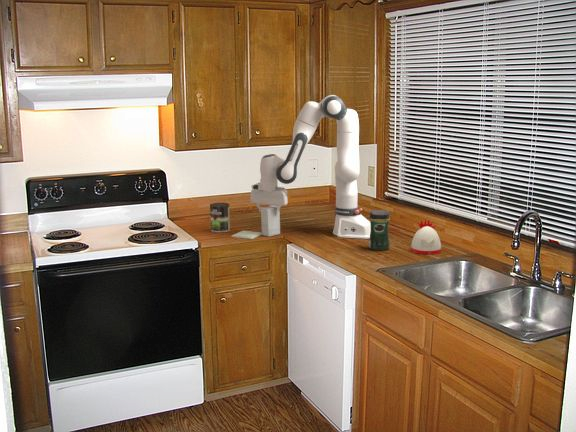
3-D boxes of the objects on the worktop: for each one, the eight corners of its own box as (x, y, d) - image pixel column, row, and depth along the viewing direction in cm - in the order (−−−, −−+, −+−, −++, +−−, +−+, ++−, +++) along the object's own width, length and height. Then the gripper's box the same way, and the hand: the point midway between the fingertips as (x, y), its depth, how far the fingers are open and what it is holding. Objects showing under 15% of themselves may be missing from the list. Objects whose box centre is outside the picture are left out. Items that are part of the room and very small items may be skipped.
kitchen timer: (409, 246, 313) (410, 215, 310) (439, 246, 312) (440, 216, 308) (412, 254, 300) (413, 222, 296) (442, 254, 298) (444, 222, 295)
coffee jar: (389, 246, 313) (390, 208, 309) (389, 251, 305) (390, 212, 301) (369, 246, 314) (369, 208, 310) (368, 250, 307) (369, 211, 303)
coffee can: (223, 233, 342) (222, 207, 339) (207, 231, 347) (206, 205, 344) (233, 229, 351) (232, 203, 348) (217, 227, 356) (216, 201, 353)
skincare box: (273, 232, 343) (272, 204, 340) (280, 234, 338) (280, 206, 335) (261, 235, 337) (260, 207, 334) (268, 237, 333) (267, 208, 330)
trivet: (263, 234, 340) (263, 232, 340) (251, 239, 329) (251, 237, 329) (243, 231, 345) (243, 230, 345) (231, 236, 335) (231, 235, 334)
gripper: (289, 186, 331) (289, 213, 334) (254, 183, 340) (255, 209, 343) (284, 188, 325) (284, 215, 328) (248, 185, 334) (248, 211, 337)
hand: (269, 212), depth 335 cm, fingers open, 8 cm apart
